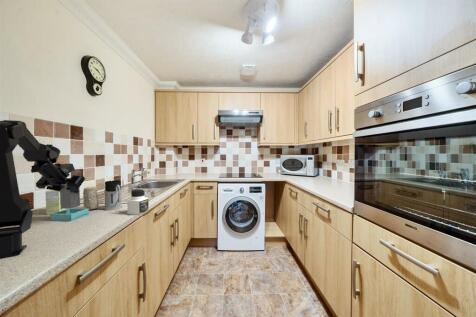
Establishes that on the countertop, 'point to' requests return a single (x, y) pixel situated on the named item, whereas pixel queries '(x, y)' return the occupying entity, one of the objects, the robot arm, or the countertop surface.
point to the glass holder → (113, 195)
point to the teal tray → (69, 214)
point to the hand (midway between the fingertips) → (72, 192)
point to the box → (53, 202)
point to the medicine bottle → (137, 202)
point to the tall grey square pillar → (69, 198)
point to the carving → (90, 198)
